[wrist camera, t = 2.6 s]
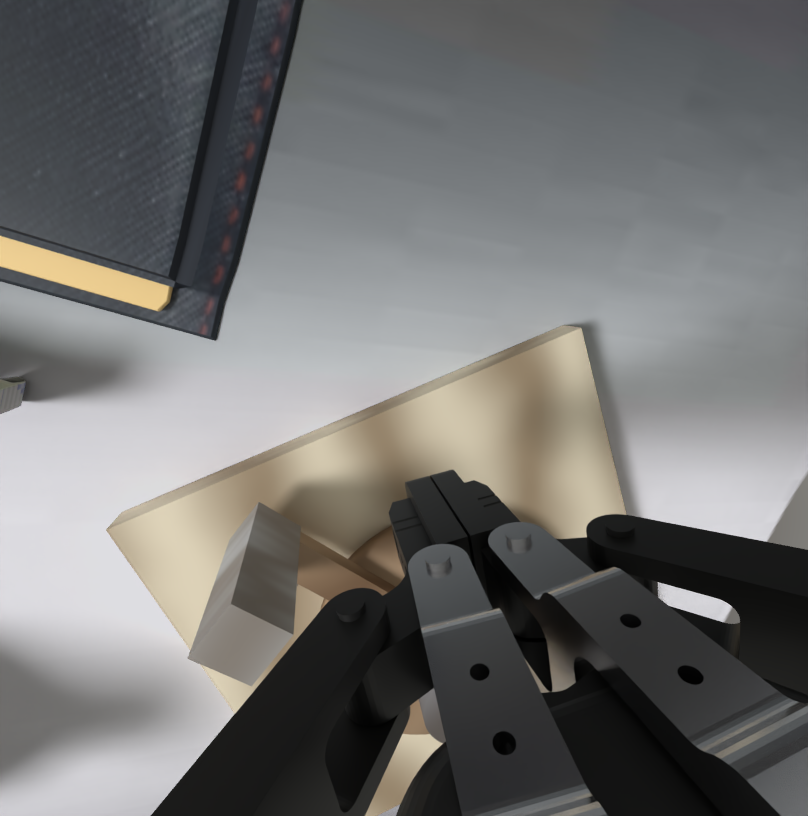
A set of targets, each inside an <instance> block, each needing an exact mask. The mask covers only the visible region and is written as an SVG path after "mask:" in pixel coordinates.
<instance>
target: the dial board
mask: <svg viewBox="0 0 808 816" xmlns="http://www.w3.org/2000/svg"><path fill="white" fill-rule="evenodd" d="M452 469H453V470H454V471H455V472H456V473H457V474H458V476H459V477H460V478H461V479H462V481H463V482H464V483H465V482H469V481H473V480H475V481H478V482H480V483H482V484H485V485H487V486H488V487H489V488H490V489H491V490H492V491H493V492H494V493H495V496H497V497H498V498H499V499H500V500H501V502H503V503H504V504H505V505H506V506H507V507H508V509H509V510H510V511H511V512H512V513H513V514H514V515H515V516H516V517H517V518H518V519H519V521H520V522H527V523H532V524H535V525H538V526H540V527H542V528H543V529H545V530H546V531H547V532H548V533H549V534H551V535H552V536H553V537H554V538H555V539H569V538H583V537H587V534H586V527H587V525H588V523H589V522H590V521H591V520H593V519H595V518H597V517H600V516H603V515H609V514H623V515H626V511H625V506H624V502H623V498H622V494H621V490H620V486H619V482H618V477H617V473H616V469H615V465H614V461H613V457H612V453H611V449H610V444H609V440H608V436H607V432H606V428H605V424H604V420H603V415H602V411H601V407H600V403H599V399H598V395H597V391H596V387H595V382H594V378H593V374H592V370H591V366H590V362H589V358H588V353H587V349H586V345H585V341H584V337H583V333H582V329H581V328H580V327H573V326H565V325H563V326H560V327H558V328H556V329H553V330H551V331H549V332H546V333H544V334H542V335H539V336H537V337H534V338H532V339H530V340H527V341H525V342H523V343H520V344H518V345H516V346H513V347H511V348H509V349H506V350H504V351H501V352H499V353H497V354H494V355H492V356H490V357H487V358H485V359H483V360H480V361H478V362H475V363H473V364H471V365H468V366H466V367H464V368H461V369H459V370H457V371H454V372H452V373H450V374H447V375H445V376H442V377H440V378H438V379H435V380H433V381H431V382H428V383H426V384H424V385H421V386H419V387H416V388H414V389H412V390H409V391H407V392H405V393H402V394H400V395H398V396H395V397H393V398H390V399H388V400H386V401H383V402H381V403H379V404H376V405H374V406H372V407H369V408H367V409H365V410H362V411H360V412H357V413H355V414H353V415H350V416H348V417H346V418H343V419H341V420H339V421H336V422H334V423H331V424H329V425H327V426H324V427H322V428H320V429H317V430H315V431H313V432H310V433H308V434H306V435H303V436H301V437H298V438H296V439H294V440H291V441H289V442H287V443H284V444H282V445H280V446H277V447H275V448H272V449H270V450H268V451H265V452H263V453H261V454H258V455H256V456H254V457H251V458H249V459H247V460H244V461H242V462H239V463H237V464H235V465H232V466H230V467H228V468H225V469H223V470H221V471H218V472H216V473H213V474H211V475H209V476H206V477H204V478H202V479H199V480H197V481H195V482H192V483H190V484H188V485H185V486H183V487H180V488H178V489H176V490H173V491H171V492H169V493H166V494H164V495H162V496H159V497H157V498H154V499H152V500H150V501H147V502H145V503H143V504H140V505H138V506H136V507H133V508H131V509H129V510H126V511H124V512H122V513H121V514H120V515H119V516H118V517H117V518H116V519H115V520H114V522H113V523H112V524H111V525H110V526H109V527H108V528H107V529H106V531H107V532H108V533H109V535H110V536H111V538H112V539H113V541H114V542H115V543H116V545H117V546H118V548H119V549H120V551H121V552H122V553H123V555H124V556H125V558H126V559H127V561H128V562H129V563H130V565H131V566H132V568H133V569H134V571H135V572H136V573H137V575H138V576H139V578H140V579H141V581H142V582H143V583H144V585H145V586H146V588H147V589H148V591H149V592H150V593H151V595H152V596H153V598H154V599H155V601H156V602H157V603H158V605H159V606H160V608H161V609H162V611H163V612H164V613H165V615H166V616H167V618H168V619H169V621H170V622H171V623H172V625H173V626H174V628H175V629H176V631H177V632H178V633H179V635H180V636H181V638H182V639H183V641H184V642H185V643H186V645H187V646H188V648H189V649H190V651H191V648H192V645H193V642H194V639H195V636H196V634H197V631H198V628H199V625H200V622H201V619H202V617H203V614H204V611H205V608H206V605H207V602H208V599H209V597H210V594H211V591H212V588H213V585H214V582H215V580H216V577H217V574H218V571H219V568H220V565H221V563H222V560H223V557H224V554H225V551H226V548H227V545H228V543H229V540H230V538H231V537H232V536H233V535H234V533H235V532H236V531H237V529H238V528H239V527H240V526H241V524H242V523H243V522H244V520H245V519H246V518H247V516H248V515H249V514H250V513H251V511H252V510H253V509H254V507H255V506H256V505H257V504H258V502H260V503H262V504H264V505H265V506H267V507H269V508H271V509H272V510H274V511H276V512H277V513H279V514H281V515H283V516H284V517H286V518H288V519H289V520H291V521H293V522H294V523H296V524H298V525H300V526H301V532H302V533H304V534H306V535H308V536H309V537H311V538H313V539H314V540H316V541H318V542H320V543H321V544H323V545H325V546H326V547H328V548H330V549H332V550H333V551H335V552H337V553H339V554H340V555H342V556H344V557H345V558H347V559H348V558H349V557H350V556H351V555H352V554H353V553H354V552H355V551H356V550H357V549H358V548H359V547H361V546H362V545H363V544H364V543H365V542H366V541H368V540H369V539H370V538H372V537H373V536H375V535H376V534H378V533H379V532H381V531H382V530H384V529H386V528H388V527H390V526H391V521H390V517H389V510H390V508H391V505H392V502H396V501H399V500H403V499H407V494H406V489H405V482H407V481H411V480H415V479H418V478H422V477H426V476H430V475H433V474H437V473H441V472H444V471H448V470H452ZM323 600H324V598H323V597H321V596H319V595H317V594H315V593H314V592H312V591H310V590H308V589H306V588H304V587H302V586H301V585H299V584H297V590H296V605H295V619H294V634H293V636H292V637H291V638H290V640H289V641H288V642H287V643H286V645H285V646H284V647H283V648H282V650H281V651H280V652H279V653H278V655H277V656H276V657H275V658H274V659H273V661H272V662H271V663H270V664H269V666H268V667H267V668H266V669H265V671H264V672H263V673H262V674H261V676H260V677H259V678H258V679H257V680H256V682H255V683H254V684H253V685H252V686H249V685H247V684H245V683H242V682H240V681H238V680H236V679H233V678H231V677H229V676H226V675H224V674H222V673H219V672H217V671H215V670H213V669H210V668H208V667H206V666H203V665H201V664H200V665H201V666H202V668H203V669H204V671H205V672H206V673H207V675H208V676H209V678H210V679H211V681H212V682H213V683H214V685H215V686H216V688H217V689H218V691H219V692H220V693H221V695H222V696H223V698H224V699H225V701H226V702H227V703H228V705H229V706H230V708H231V709H232V711H233V712H234V713H236V712H237V711H238V710H239V708H240V707H241V706H242V705H243V704H244V702H245V701H246V700H247V699H248V698H249V696H250V695H251V694H252V693H253V692H254V690H255V689H256V688H257V687H258V686H259V684H260V683H261V682H262V681H263V679H264V678H265V677H266V676H267V675H268V673H269V672H270V671H271V670H272V669H273V667H274V666H275V665H276V664H277V663H278V661H279V660H280V659H281V658H282V657H283V655H284V654H285V653H286V652H287V650H288V649H289V648H290V647H291V646H292V644H293V643H294V642H295V641H296V640H297V638H298V637H299V636H300V635H301V634H302V632H303V631H304V630H305V629H306V627H307V626H308V625H309V624H310V623H311V621H312V620H313V619H314V618H315V617H316V615H317V614H318V613H319V612H320V610H321V605H322V602H323ZM442 744H443V743H441V742H439V741H437V740H436V739H435V738H433V737H432V736H431V735H430V734H426V735H409V734H402V736H401V738H400V741H399V743H398V745H397V747H396V749H395V751H394V754H393V756H392V758H391V760H390V762H389V765H388V767H387V769H386V771H385V773H384V775H383V778H382V780H381V782H380V784H379V786H378V788H377V791H376V793H375V795H374V797H373V799H372V802H371V804H370V806H369V808H368V810H367V812H366V815H365V816H377V815H379V814H381V813H383V812H385V811H387V810H389V809H391V808H393V807H395V806H397V805H399V804H401V802H402V800H403V797H404V795H405V793H406V791H407V789H408V787H409V785H410V784H411V782H412V780H413V778H414V777H415V775H416V774H417V772H418V771H419V769H420V768H421V767H422V765H423V764H424V763H425V762H426V760H427V759H428V758H429V757H430V756H431V755H432V753H433V752H434V751H435V750H437V749H438V748H439V747H440V746H441V745H442Z"/></svg>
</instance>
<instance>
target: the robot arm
mask: <svg viewBox="0 0 808 816" xmlns="http://www.w3.org/2000/svg"><path fill="white" fill-rule="evenodd" d="M405 489H406V494H407V499H403V500H399V501H396V502H392V505H391V508H390V510H389V517H390V521H391V526H392V530H393V535H394V539H395V544H396V548H397V553H398V557H399V560H400V563H401V566H402V569H403V572H404V575H405V577H404V578H403V580H402V581H401V582H400V583H399V585H398V586H396V587H395V588H394V589H393V590H391V591H390V592H388V593H386V594H385V595H383V596H382V595H381V594H380V593H379V592H377V591H375V590H373V589H370V588H355V589H351V590H347V591H345V592H342V593H340V594H338V595H337V596H335V597H333V598H332V599H331V600H330V601H328V603H327V604H326V605H325V606H324V607H323V608H322V609H321V611H320V612H319V613H318V614H317V615H316V617H315V618H314V619H313V620H312V621H311V623H310V624H309V625H308V626H307V627H306V629H305V630H304V631H303V632H302V634H301V635H300V636H299V637H298V638H297V640H296V641H295V642H294V643H293V644H292V646H291V647H290V648H289V649H288V650H287V652H286V653H285V654H284V655H283V657H282V658H281V659H280V660H279V661H278V663H277V664H276V665H275V666H274V667H273V669H272V670H271V671H270V672H269V673H268V675H267V676H266V677H265V678H264V679H263V681H262V682H261V683H260V684H259V686H258V687H257V688H256V689H255V690H254V692H253V693H252V694H251V695H250V696H249V698H248V699H247V700H246V701H245V702H244V704H243V705H242V706H241V707H240V708H239V710H238V711H237V712H236V713H235V715H234V716H233V717H232V718H231V719H230V721H229V722H228V723H227V724H226V725H225V727H224V728H223V729H222V730H221V731H220V733H219V734H218V735H217V736H216V738H215V739H214V740H213V741H212V742H211V744H210V745H209V746H208V747H207V748H206V750H205V751H204V752H203V753H202V754H201V756H200V757H199V758H198V759H197V760H196V762H195V763H194V764H193V765H192V767H191V768H190V769H189V770H188V771H187V773H186V774H185V775H184V776H183V777H182V779H181V780H180V781H179V782H178V783H177V785H176V786H175V787H174V788H173V789H172V791H171V792H170V793H169V794H168V796H167V797H166V798H165V799H164V800H163V802H162V803H161V804H160V805H159V806H158V808H157V809H156V810H155V811H154V812H153V814H152V815H151V816H365V815H366V812H367V810H368V808H369V806H370V804H371V802H372V799H373V797H374V795H375V793H376V791H377V788H378V786H379V784H380V782H381V780H382V778H383V775H384V773H385V771H386V769H387V767H388V765H389V762H390V760H391V758H392V756H393V754H394V751H395V749H396V747H397V745H398V743H399V741H400V738H401V736H402V734H403V732H404V730H405V728H406V725H407V723H408V720H409V717H410V705H411V704H413V703H414V702H416V701H417V700H418V699H420V698H421V697H422V696H424V695H425V694H426V693H428V692H429V691H430V690H432V689H433V688H434V690H435V695H436V699H437V704H438V708H439V713H440V717H441V722H442V727H443V731H444V736H445V740H446V742H444V743H443V744H442V745H441V746H440V747H439V748H438V749H437V750H435V751H434V752H433V753H432V755H431V756H430V757H429V758H428V759H427V760H426V762H425V763H424V764H423V765H422V767H421V768H420V769H419V771H418V772H417V774H416V775H415V777H414V778H413V780H412V782H411V784H410V785H409V787H408V789H407V791H406V793H405V795H404V797H403V800H402V802H401V805H400V807H399V810H398V812H397V815H396V816H808V550H805V549H800V548H794V547H790V546H785V545H779V544H774V543H769V542H764V541H759V540H754V539H748V538H743V537H738V536H733V535H728V534H723V533H717V532H712V531H707V530H702V529H697V528H692V527H686V526H681V525H676V524H671V523H666V522H661V521H655V520H650V519H645V518H640V517H635V516H630V515H623V514H609V515H603V516H600V517H597V518H595V519H593V520H591V521H590V522H589V523H588V525H587V527H586V534H587V537H583V538H569V539H555V538H554V537H553V536H552V535H551V534H549V533H548V532H547V531H546V530H545V529H543V528H542V527H540V526H538V525H535V524H532V523H527V522H520V521H519V519H518V518H517V517H516V516H515V515H514V514H513V513H512V512H511V511H510V510H509V509H508V507H507V506H506V505H505V504H504V503H503V502H501V500H500V499H499V498H498V497H497V496H495V493H494V492H493V491H492V490H491V489H490V488H489V487H488V486H487V485H485V484H482V483H480V482H478V481H475V480H473V481H469V482H465V483H464V482H463V481H462V479H461V478H460V477H459V476H458V474H457V473H456V472H455V471H454V470H453V469H452V470H448V471H444V472H441V473H437V474H433V475H430V476H426V477H422V478H418V479H415V480H411V481H407V482H405ZM658 582H660V583H664V584H667V585H671V586H674V587H678V588H682V589H685V590H689V591H693V592H696V593H700V594H704V595H707V596H711V597H714V598H718V599H721V600H723V601H725V602H727V603H728V604H730V605H731V606H732V607H733V608H734V609H735V610H736V611H737V613H738V614H739V616H740V623H738V624H727V623H723V622H720V621H717V620H713V619H710V618H707V617H704V616H700V615H697V614H694V613H690V612H687V611H684V610H680V609H677V608H674V607H670V606H668V605H667V604H665V603H664V602H663V601H662V600H660V599H659V598H658Z"/></svg>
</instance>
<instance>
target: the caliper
mask: <svg viewBox="0 0 808 816" xmlns="http://www.w3.org/2000/svg"><path fill="white" fill-rule="evenodd" d="M25 384H26V382H25V380H24V379H22V378H20V377H11V378H2V379H0V414H2V413H4V412H7V411H9V410H12V409H14V408H17V407H19V406H21V403H22V398H23V394H24V389H25Z"/></svg>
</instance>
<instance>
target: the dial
mask: <svg viewBox="0 0 808 816" xmlns="http://www.w3.org/2000/svg"><path fill="white" fill-rule="evenodd" d="M404 577H405V575H404V572H403V569H402V566H401V563H400V560H399V557H398V553H397V548H396V544H395V539H394V535H393V530H392V526H390V527H388V528H386V529H384V530H382V531H381V532H379V533H378V534H376V535H375V536H373V537H372V538H370V539H369V540H368V541H366V542H365V543H364V544H363V545H362V546H361V547H359V548H358V549H357V550H356V551H355V552H354V553H353V554H352V555H351V556H350V557H349V558H348V559H347V558H345V557H344V556H342V555H340V554H339V553H337V552H335V551H333V550H332V549H330V548H328V547H326V546H325V545H323V544H321V543H320V542H318V541H316V540H314V539H313V538H311V537H309V536H308V535H306V534H304V533H302V532H301V526H300V525H298V524H296V523H294V522H293V521H291V520H289V519H288V518H286V517H284V516H283V515H281V514H279V513H277V512H276V511H274V510H272V509H271V508H269V507H267V506H265V505H264V504H262V503H260V502H258V504H257V505H256V506H255V507H254V509H253V510H252V511H251V513H250V514H249V515H248V516H247V518H246V519H245V520H244V522H243V523H242V524H241V526H240V527H239V528H238V529H237V531H236V532H235V533H234V535H233V536H232V537H231V538H230V540H229V543H228V545H227V548H226V551H225V554H224V557H223V560H222V563H221V565H220V568H219V571H218V574H217V577H216V580H215V582H214V585H213V588H212V591H211V594H210V597H209V599H208V602H207V605H206V608H205V611H204V614H203V617H202V619H201V622H200V625H199V628H198V631H197V634H196V636H195V639H194V642H193V645H192V648H191V651H190V653H189V656H188V659H190V660H192V661H194V662H196V663H199V664H201V665H203V666H206V667H208V668H210V669H213V670H215V671H217V672H219V673H222V674H224V675H226V676H229V677H231V678H233V679H236V680H238V681H240V682H242V683H245V684H247V685H249V686H252V685H253V684H254V683H255V682H256V680H257V679H258V678H259V677H260V676H261V674H262V673H263V672H264V671H265V669H266V668H267V667H268V666H269V664H270V663H271V662H272V661H273V659H274V658H275V657H276V656H277V655H278V653H279V652H280V651H281V650H282V648H283V647H284V646H285V645H286V643H287V642H288V641H289V640H290V638H291V637H292V636H293V634H294V619H295V605H296V590H297V584H299V585H301V586H302V587H304V588H306V589H308V590H310V591H312V592H314V593H315V594H317V595H319V596H321V597H323V598H324V600H323V602H322V605H321V609H322V608H323V607H324V606H325V605H326V604H327V603H328V601H330V600H331V599H332V598H333V597H335V596H337V595H338V594H340V593H342V592H345V591H347V590H351V589H355V588H370V589H373V590H375V591H377V592H379V593H380V594H381V595H382V596H383V595H385V594H386V593H388V592H390V591H391V590H393V589H394V588H395V587H396V586H398V585H399V583H400V582H401V581H402V580H403V578H404ZM320 611H321V610H320ZM403 734H409V735H426V734H430V735H431V736H432V737H433V738H435V739H436V740H437V741H439V742H441V743H444V742H446V740H445V736H444V731H443V727H442V722H441V717H440V713H439V708H438V704H437V699H436V695H435V690H434V688H433V689H432V690H430V691H429V692H428V693H426V694H425V695H424V696H422V697H421V698H420V699H418V700H417V701H416V702H414V703H413V704H411V705H410V717H409V720H408V723H407V725H406V728H405V730H404V732H403Z"/></svg>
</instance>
